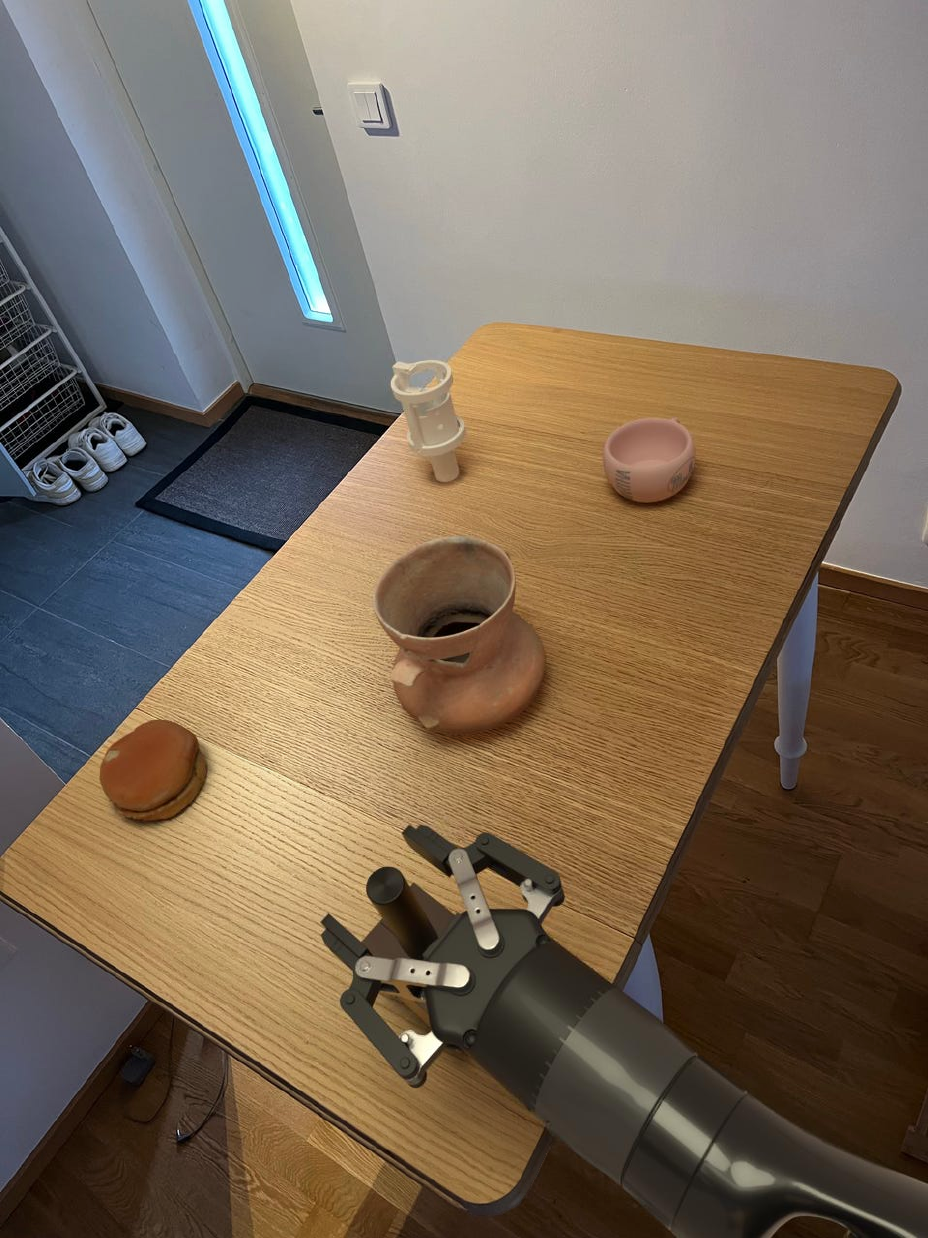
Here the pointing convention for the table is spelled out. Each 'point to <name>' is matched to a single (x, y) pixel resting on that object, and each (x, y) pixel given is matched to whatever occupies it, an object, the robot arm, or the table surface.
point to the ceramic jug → (458, 636)
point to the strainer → (430, 416)
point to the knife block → (388, 946)
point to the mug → (649, 458)
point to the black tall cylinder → (401, 911)
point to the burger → (153, 771)
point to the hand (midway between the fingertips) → (369, 878)
